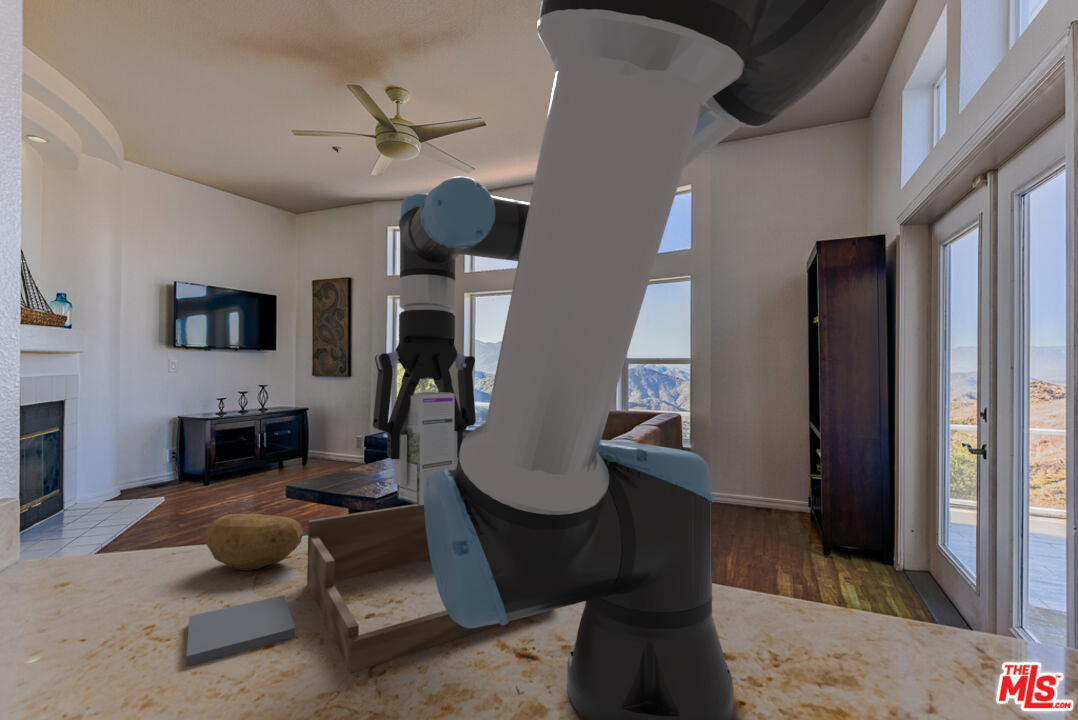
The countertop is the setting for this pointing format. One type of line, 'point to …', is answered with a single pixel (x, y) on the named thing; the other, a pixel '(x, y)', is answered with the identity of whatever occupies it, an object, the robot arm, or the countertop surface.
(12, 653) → the countertop surface
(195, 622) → the slate mat
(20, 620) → the countertop surface
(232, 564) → the potato
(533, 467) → the robot arm
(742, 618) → the countertop surface
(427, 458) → the syrup box
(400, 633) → the frame
